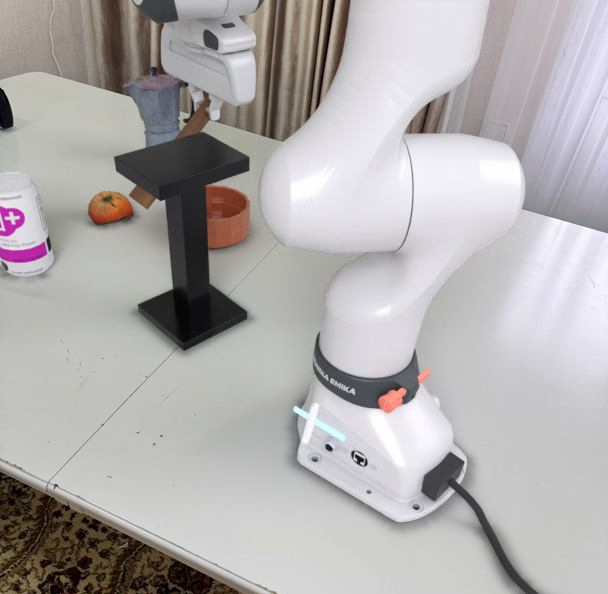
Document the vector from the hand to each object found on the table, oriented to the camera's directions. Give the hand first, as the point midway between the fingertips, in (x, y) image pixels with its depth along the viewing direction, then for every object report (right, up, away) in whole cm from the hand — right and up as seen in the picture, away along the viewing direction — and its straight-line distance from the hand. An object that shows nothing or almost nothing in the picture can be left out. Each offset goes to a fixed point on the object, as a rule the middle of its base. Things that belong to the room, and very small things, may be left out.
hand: (207, 115), depth 102 cm
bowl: (-1, -17, +14) cm, 21 cm away
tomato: (-21, -14, +15) cm, 29 cm away
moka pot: (-14, +2, +34) cm, 37 cm away
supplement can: (-30, -25, +2) cm, 39 cm away
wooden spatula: (-4, -6, 0) cm, 7 cm away
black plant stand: (-1, -33, -6) cm, 34 cm away
